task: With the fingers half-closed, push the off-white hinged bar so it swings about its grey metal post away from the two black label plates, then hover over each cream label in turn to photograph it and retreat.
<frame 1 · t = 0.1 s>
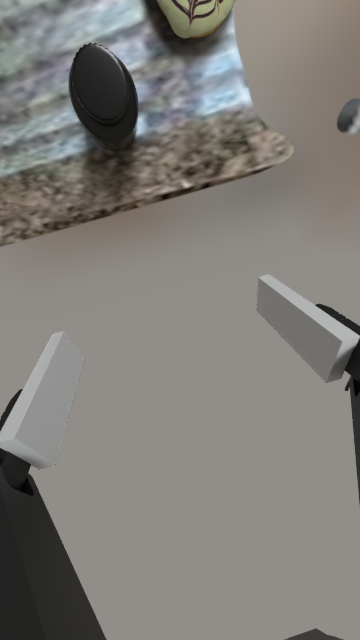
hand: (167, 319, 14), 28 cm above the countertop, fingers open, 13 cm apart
supplement bottle: (111, 120, 27), on the countertop
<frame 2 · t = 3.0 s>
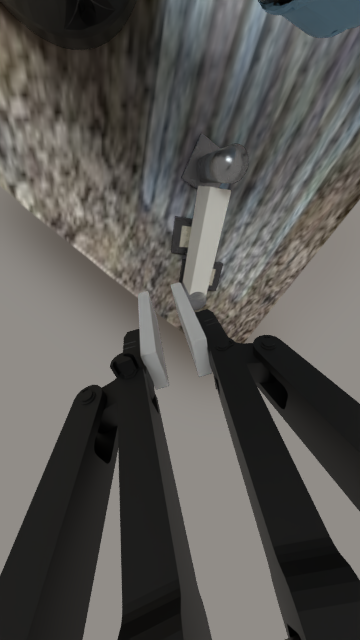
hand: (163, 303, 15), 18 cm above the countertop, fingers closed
pivot post: (206, 169, 26), on the countertop
swing bar: (200, 253, 28), point 5 cm above the countertop, hinge at -70.0°
label plate a: (194, 237, 31), on the countertop
label plate b: (199, 275, 35), on the countertop
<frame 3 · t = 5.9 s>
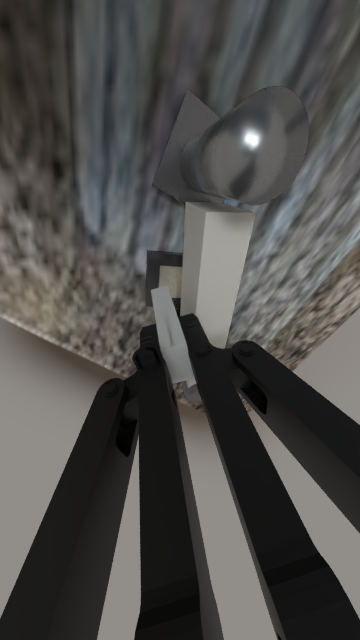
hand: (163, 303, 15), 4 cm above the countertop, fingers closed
pivot post: (199, 166, 14), on the countertop
swing bar: (201, 317, 16), point 5 cm above the countertop, hinge at -65.1°
label plate a: (184, 280, 19), on the countertop
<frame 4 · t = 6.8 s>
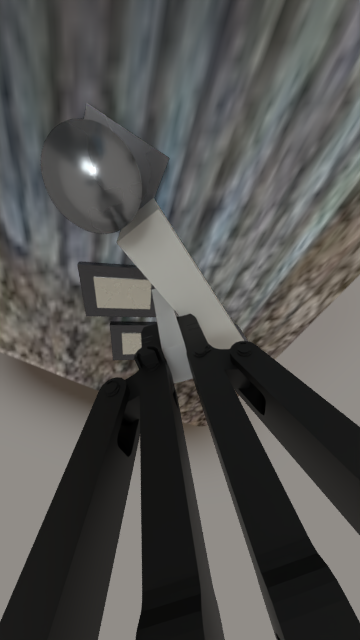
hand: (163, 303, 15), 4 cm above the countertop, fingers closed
pivot post: (119, 178, 14), on the countertop
swing bar: (203, 308, 15), point 4 cm above the countertop, hinge at -29.0°, touching gripper
label plate a: (124, 290, 18), on the countertop
label plate b: (145, 339, 22), on the countertop
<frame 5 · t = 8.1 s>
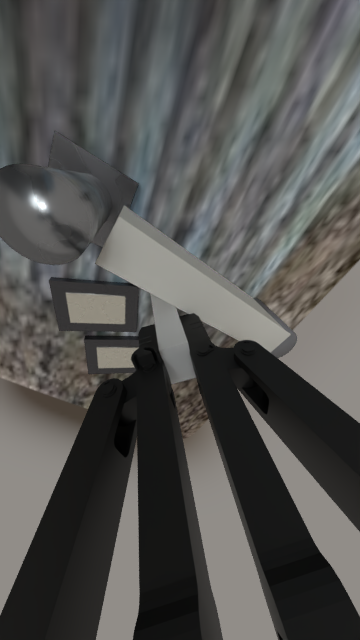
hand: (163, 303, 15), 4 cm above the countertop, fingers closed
pivot post: (90, 200, 14), on the countertop
swing bar: (211, 293, 15), point 4 cm above the countertop, hinge at -6.7°, touching gripper
label plate a: (98, 305, 19), on the countertop
label plate b: (121, 353, 22), on the countertop
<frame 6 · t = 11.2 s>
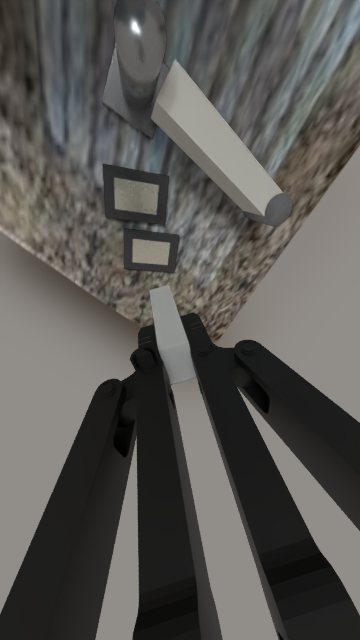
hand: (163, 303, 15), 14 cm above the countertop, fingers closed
pivot post: (137, 90, 19), on the countertop
swing bar: (227, 165, 20), point 4 cm above the countertop, hinge at -7.6°
label plate a: (136, 196, 23), on the countertop
label plate b: (150, 251, 27), on the countertop
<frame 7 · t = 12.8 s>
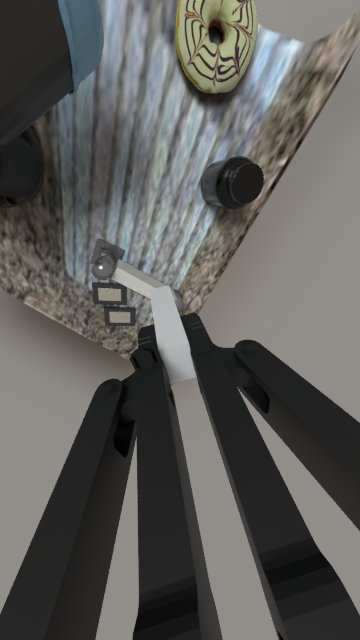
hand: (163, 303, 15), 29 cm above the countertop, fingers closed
pivot post: (107, 255, 41), on the countertop
decorated donut: (210, 44, 28), on the countertop
swing bar: (150, 287, 41), point 5 cm above the countertop, hinge at -7.6°
label plate a: (110, 293, 45), on the countertop
supplement bottle: (217, 184, 37), on the countertop
label plate b: (120, 316, 49), on the countertop
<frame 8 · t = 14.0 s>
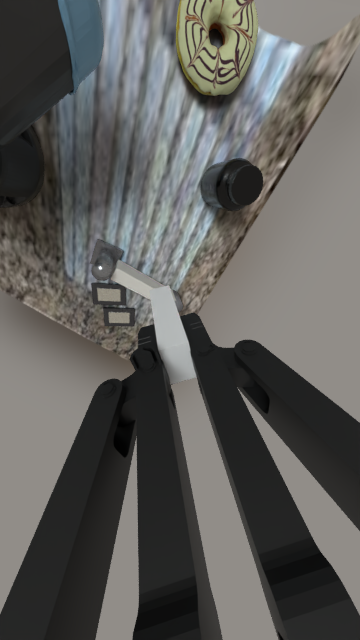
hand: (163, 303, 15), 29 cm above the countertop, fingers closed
pivot post: (107, 256, 41), on the countertop
decorated donut: (211, 47, 28), on the countertop
swing bar: (149, 288, 41), point 4 cm above the countertop, hinge at -7.6°
label plate a: (109, 293, 45), on the countertop
supplement bottle: (217, 185, 37), on the countertop
label plate b: (119, 316, 49), on the countertop
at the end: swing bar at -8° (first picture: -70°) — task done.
